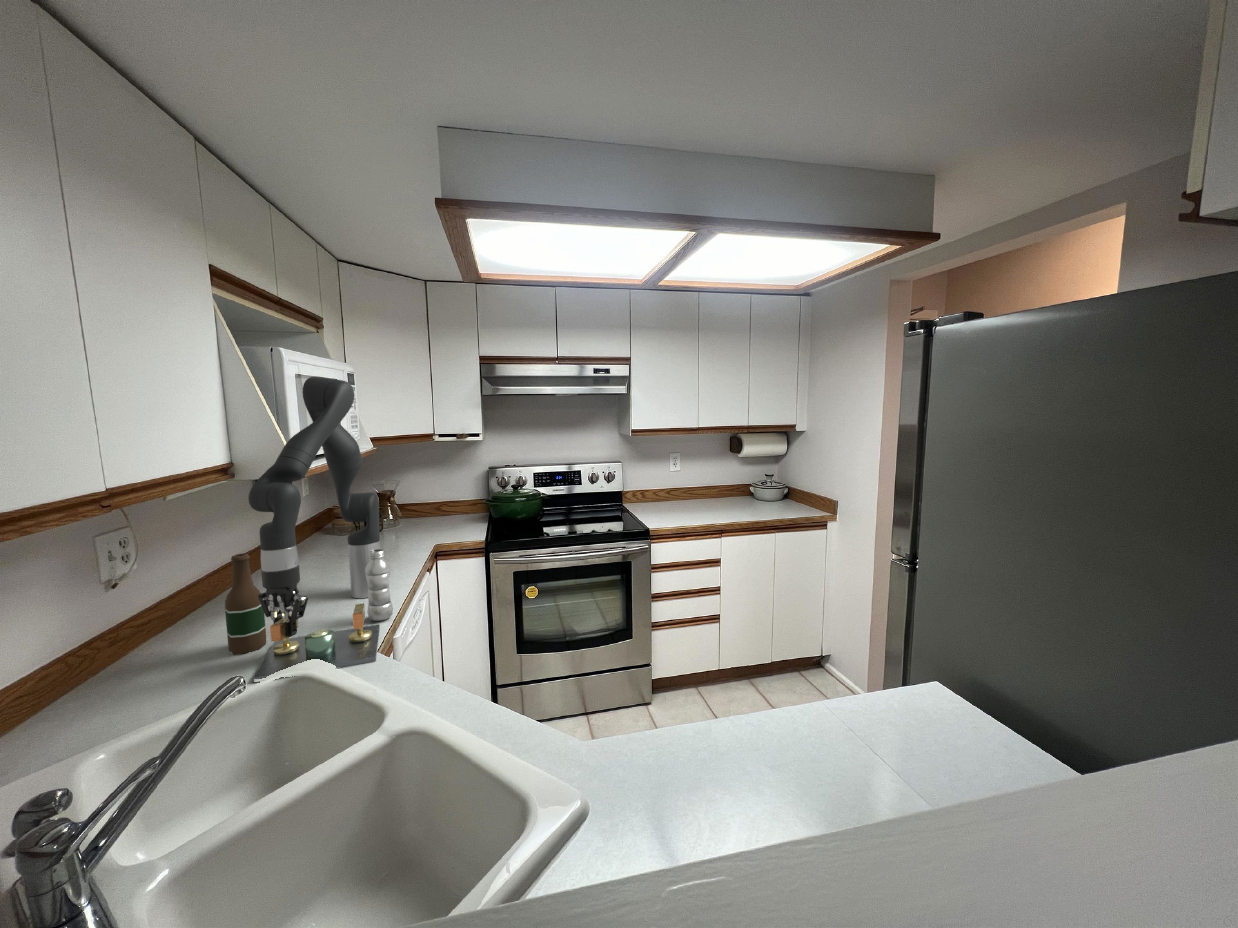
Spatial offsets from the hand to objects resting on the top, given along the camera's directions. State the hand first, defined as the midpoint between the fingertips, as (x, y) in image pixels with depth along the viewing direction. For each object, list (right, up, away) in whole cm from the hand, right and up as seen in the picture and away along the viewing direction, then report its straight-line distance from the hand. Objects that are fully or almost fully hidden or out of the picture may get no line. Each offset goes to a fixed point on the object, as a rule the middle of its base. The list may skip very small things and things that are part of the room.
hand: (285, 634), depth 122 cm
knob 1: (0, -4, 0) cm, 4 cm away
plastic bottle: (+13, -3, +22) cm, 26 cm away
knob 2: (+15, -3, +6) cm, 16 cm away
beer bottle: (-13, -5, +5) cm, 14 cm away
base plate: (+8, -5, +2) cm, 10 cm away
